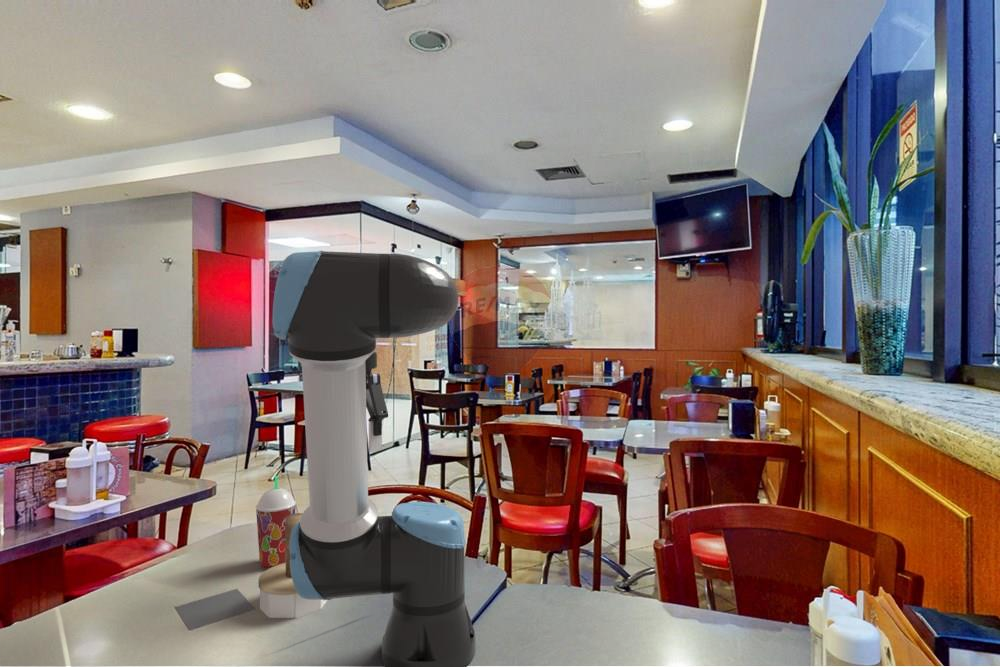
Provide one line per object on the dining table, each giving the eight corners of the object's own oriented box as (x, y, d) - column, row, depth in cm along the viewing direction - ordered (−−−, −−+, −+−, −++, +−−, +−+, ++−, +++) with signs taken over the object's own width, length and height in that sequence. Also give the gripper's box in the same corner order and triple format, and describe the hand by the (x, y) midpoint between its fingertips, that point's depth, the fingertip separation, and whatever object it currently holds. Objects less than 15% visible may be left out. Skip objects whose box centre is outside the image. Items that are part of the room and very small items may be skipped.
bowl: (337, 606, 104) (337, 579, 104) (275, 628, 96) (275, 599, 96) (312, 585, 112) (312, 561, 112) (253, 604, 104) (253, 578, 104)
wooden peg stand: (343, 579, 104) (342, 516, 104) (273, 602, 95) (273, 533, 95) (314, 559, 113) (314, 501, 113) (248, 578, 104) (248, 515, 105)
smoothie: (302, 558, 126) (302, 472, 126) (284, 574, 118) (284, 481, 118) (268, 557, 127) (268, 471, 127) (248, 572, 119) (248, 480, 119)
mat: (255, 611, 102) (255, 608, 102) (189, 633, 94) (189, 630, 94) (237, 591, 110) (237, 588, 110) (174, 610, 102) (174, 607, 102)
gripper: (404, 352, 115) (404, 452, 115) (348, 349, 134) (349, 436, 134) (372, 352, 110) (373, 457, 110) (319, 350, 129) (319, 440, 129)
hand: (359, 445), depth 122 cm, fingers open, 13 cm apart
